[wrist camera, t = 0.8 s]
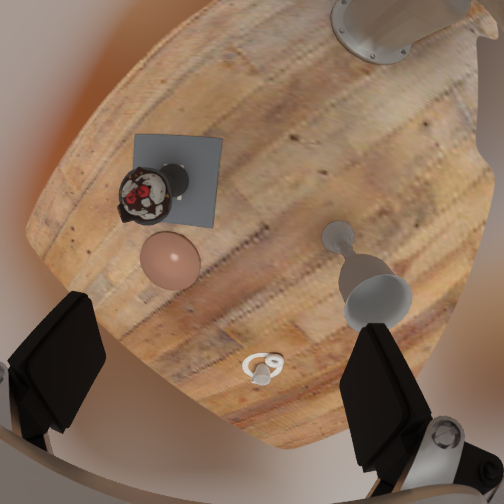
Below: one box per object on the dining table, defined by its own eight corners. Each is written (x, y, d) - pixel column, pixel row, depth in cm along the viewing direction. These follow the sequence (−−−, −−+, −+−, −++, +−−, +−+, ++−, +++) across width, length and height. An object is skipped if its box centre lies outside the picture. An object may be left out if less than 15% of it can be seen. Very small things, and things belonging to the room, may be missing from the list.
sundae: (193, 155, 36) (151, 170, 23) (196, 201, 39) (160, 241, 25) (149, 159, 37) (92, 177, 23) (154, 203, 39) (103, 242, 26)
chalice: (308, 250, 41) (332, 327, 25) (323, 208, 39) (362, 265, 22) (350, 262, 42) (392, 337, 26) (367, 223, 39) (424, 283, 23)
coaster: (141, 227, 41) (139, 229, 40) (202, 236, 41) (201, 237, 41) (143, 282, 45) (141, 284, 45) (199, 292, 45) (198, 294, 45)
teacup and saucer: (280, 346, 50) (280, 361, 46) (290, 371, 53) (291, 386, 49) (236, 355, 52) (234, 370, 48) (250, 380, 55) (249, 394, 51)
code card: (135, 134, 35) (134, 134, 35) (222, 138, 35) (222, 138, 35) (132, 217, 41) (132, 218, 40) (212, 227, 41) (212, 228, 40)
